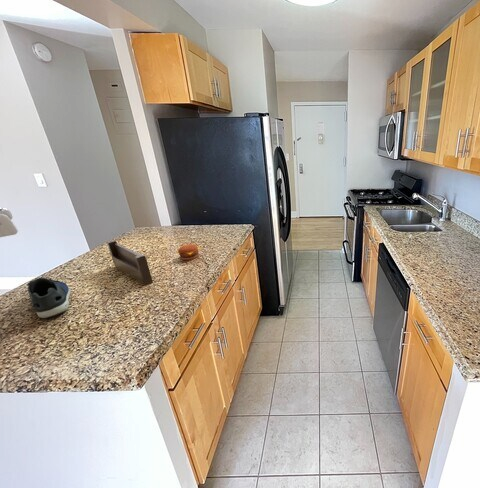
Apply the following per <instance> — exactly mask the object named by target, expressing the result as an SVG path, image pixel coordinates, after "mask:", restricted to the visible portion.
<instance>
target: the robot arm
mask: <svg viewBox="0 0 480 488" xmlns="http://www.w3.org/2000/svg"><path fill="white" fill-rule="evenodd" d="M12 219H13V215H12V212H11V211H10V210H9V209H7V208H2V207H0V238H3V237H10V236H14V235H17V234H18V232H19V230H18V228H17V226H16V225H15V223H14V222H13V221H12Z"/></svg>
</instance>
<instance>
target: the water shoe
mask: <svg viewBox="0 0 480 488" xmlns="http://www.w3.org/2000/svg"><path fill="white" fill-rule="evenodd" d="M27 292H28V295H29V298H30V301H31V305H32V307H33V310H35V311H36V314H37V315H36V316H38V317H39V318H41V319H50V318H54V317H57V316H60V315H62V314H63V313H64V312H66V311H67V310H68V309H69V307H70V302H69V299H70V295H71V288H70V287H69V285H68V284H67V283H65V282H63V281H60V280H53V279H52V278H50V277H47V276H43V277H38V278H36V279H32V280H30V281H29V282H27Z"/></svg>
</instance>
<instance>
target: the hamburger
mask: <svg viewBox="0 0 480 488" xmlns="http://www.w3.org/2000/svg"><path fill="white" fill-rule="evenodd" d="M200 249H202V247H200V246H198V245H196V244H192V243H189V244H185V245H181V246H180V247H179V248H178V250H177V251H176V252H175V254H178V255H179V259H180V260H181V261H192V260H195V259H198V258H199V257H200V253H199V250H200Z"/></svg>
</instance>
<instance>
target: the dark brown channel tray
mask: <svg viewBox="0 0 480 488" xmlns="http://www.w3.org/2000/svg"><path fill="white" fill-rule="evenodd" d="M106 245H107V247H108V250H109V253H110V255H111V258H112V262H113V265H114V267H115V268H117V269H118V270H119V271H121V272H123V273H124V274H126V275H128V276H129V277H131V278H132V279H134V280H136V281H137V282H139V283H141V284H142V285H144V286H147V285H151V284H152V283H154V281H153V277H152V274H151V271H150V267H149V264H148V260H147V257H146V255H145V254H140V253H138V252H136V251H134V250H131V249H130V248H127V247H125V246H124V245H122V244H120V243H118V241H117V240H115V239H114V240H110V241H107V242H106Z"/></svg>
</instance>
